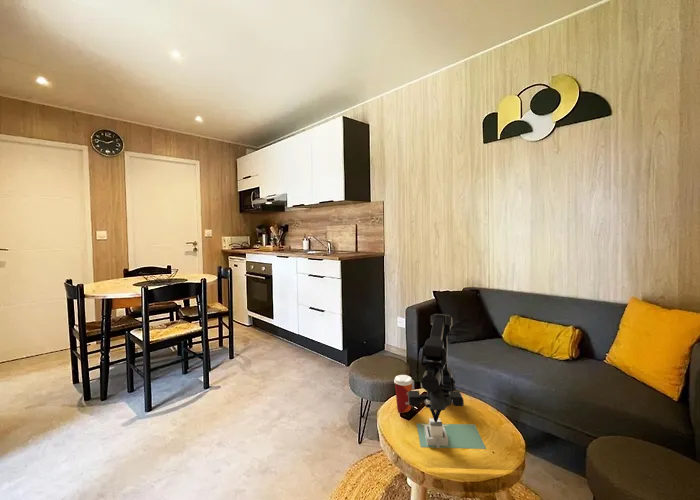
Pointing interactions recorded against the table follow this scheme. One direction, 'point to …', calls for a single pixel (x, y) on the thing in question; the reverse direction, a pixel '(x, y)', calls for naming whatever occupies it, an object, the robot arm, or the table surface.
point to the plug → (435, 428)
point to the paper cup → (403, 392)
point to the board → (451, 436)
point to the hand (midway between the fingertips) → (435, 421)
